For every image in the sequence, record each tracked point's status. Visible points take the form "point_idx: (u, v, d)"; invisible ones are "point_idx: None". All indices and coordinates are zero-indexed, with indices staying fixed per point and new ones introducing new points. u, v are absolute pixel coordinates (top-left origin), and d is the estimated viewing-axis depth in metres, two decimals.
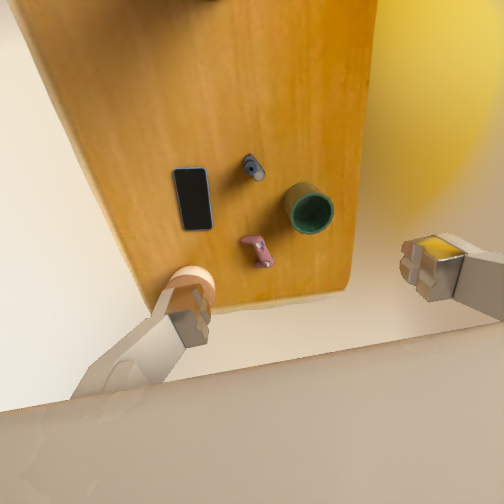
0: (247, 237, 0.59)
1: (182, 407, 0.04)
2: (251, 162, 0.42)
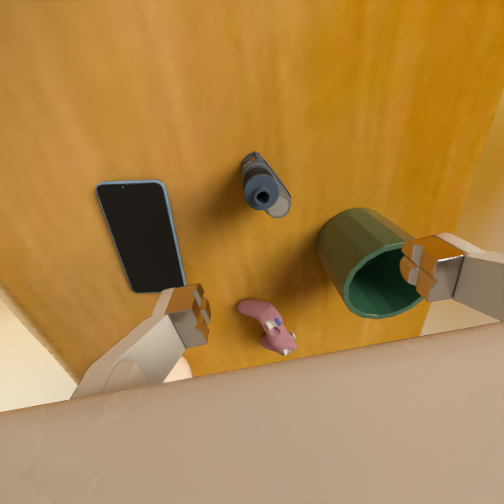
0: (249, 304, 0.33)
1: (182, 407, 0.04)
2: (263, 177, 0.15)
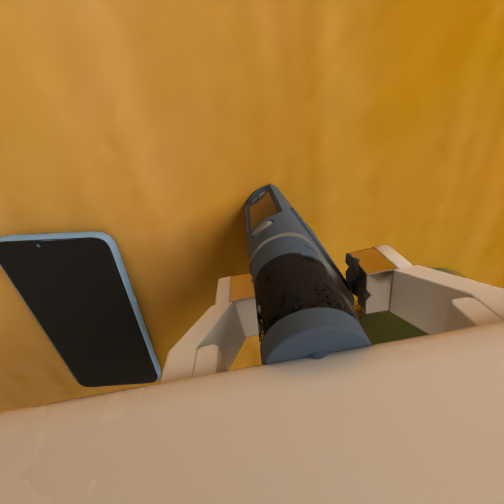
0: None
1: (182, 407, 0.04)
2: (330, 331, 0.04)
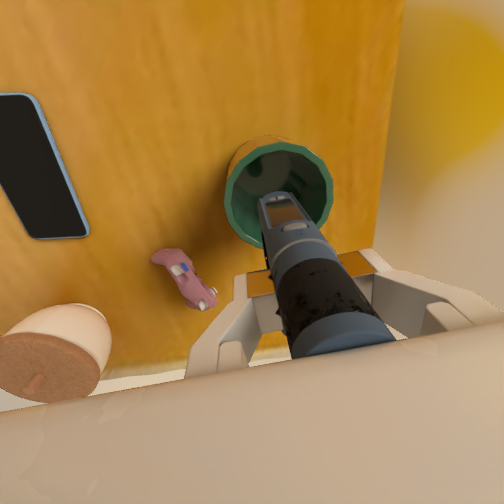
0: (160, 252, 0.30)
1: (182, 407, 0.04)
2: (384, 340, 0.05)
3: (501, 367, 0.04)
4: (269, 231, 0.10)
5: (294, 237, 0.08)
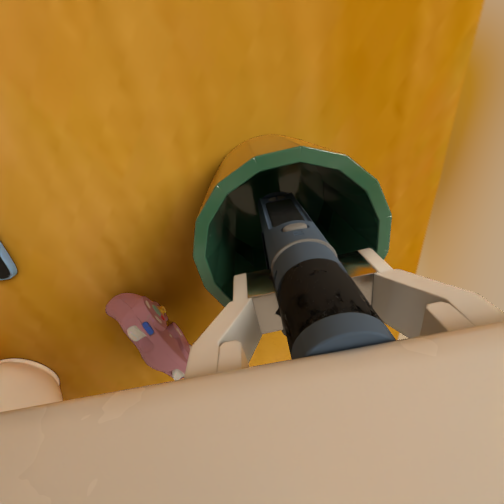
0: (117, 301, 0.21)
1: (182, 407, 0.04)
2: (383, 340, 0.05)
3: (501, 367, 0.04)
4: (269, 231, 0.10)
5: (294, 237, 0.08)
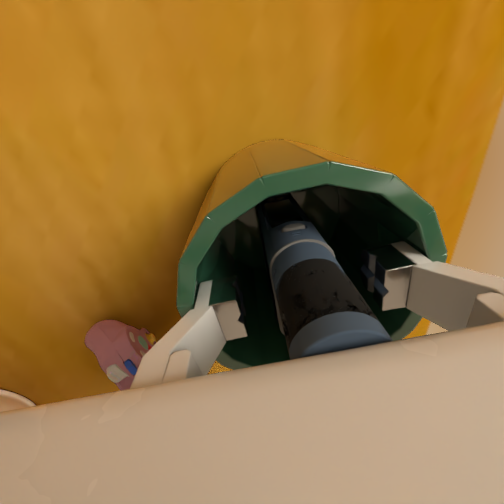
0: (97, 331, 0.18)
1: (182, 407, 0.04)
2: (379, 339, 0.05)
3: (501, 367, 0.04)
4: (268, 232, 0.10)
5: (293, 238, 0.08)
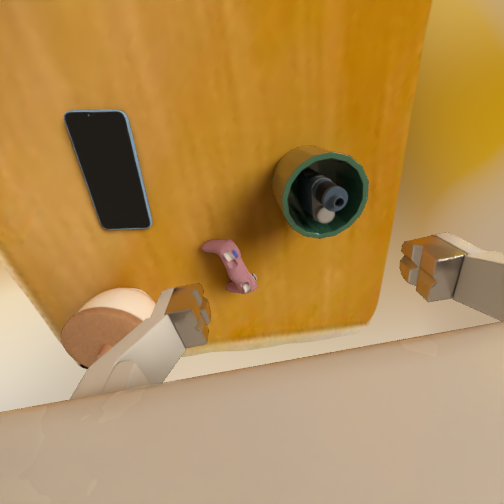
0: (211, 242, 0.35)
1: (182, 407, 0.04)
2: (343, 190, 0.22)
3: (501, 367, 0.04)
4: (308, 179, 0.27)
5: (319, 178, 0.25)
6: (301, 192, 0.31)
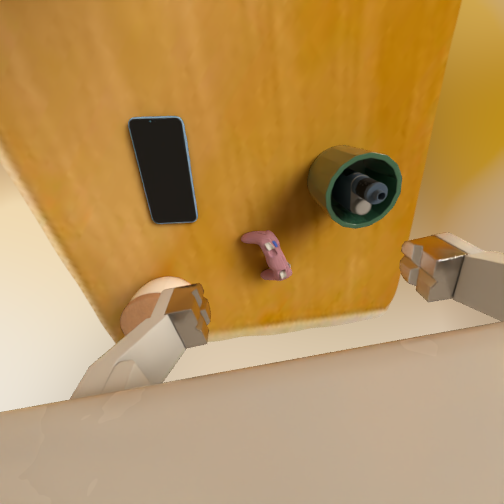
0: (251, 234, 0.38)
1: (182, 407, 0.04)
2: (384, 186, 0.25)
3: (501, 367, 0.04)
4: (346, 176, 0.31)
5: (358, 175, 0.29)
6: (335, 187, 0.35)
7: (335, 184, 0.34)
